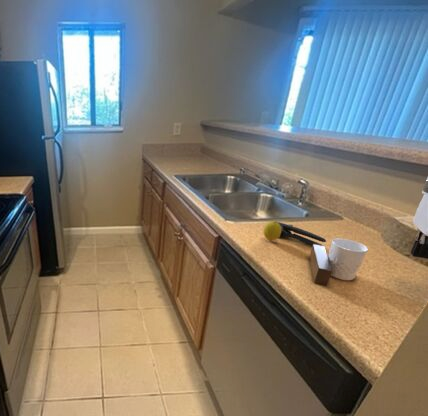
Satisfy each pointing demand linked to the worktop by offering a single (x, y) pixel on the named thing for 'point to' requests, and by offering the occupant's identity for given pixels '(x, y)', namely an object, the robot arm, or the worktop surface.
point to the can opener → (287, 233)
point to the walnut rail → (320, 265)
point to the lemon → (272, 231)
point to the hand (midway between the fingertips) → (419, 256)
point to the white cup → (346, 258)
